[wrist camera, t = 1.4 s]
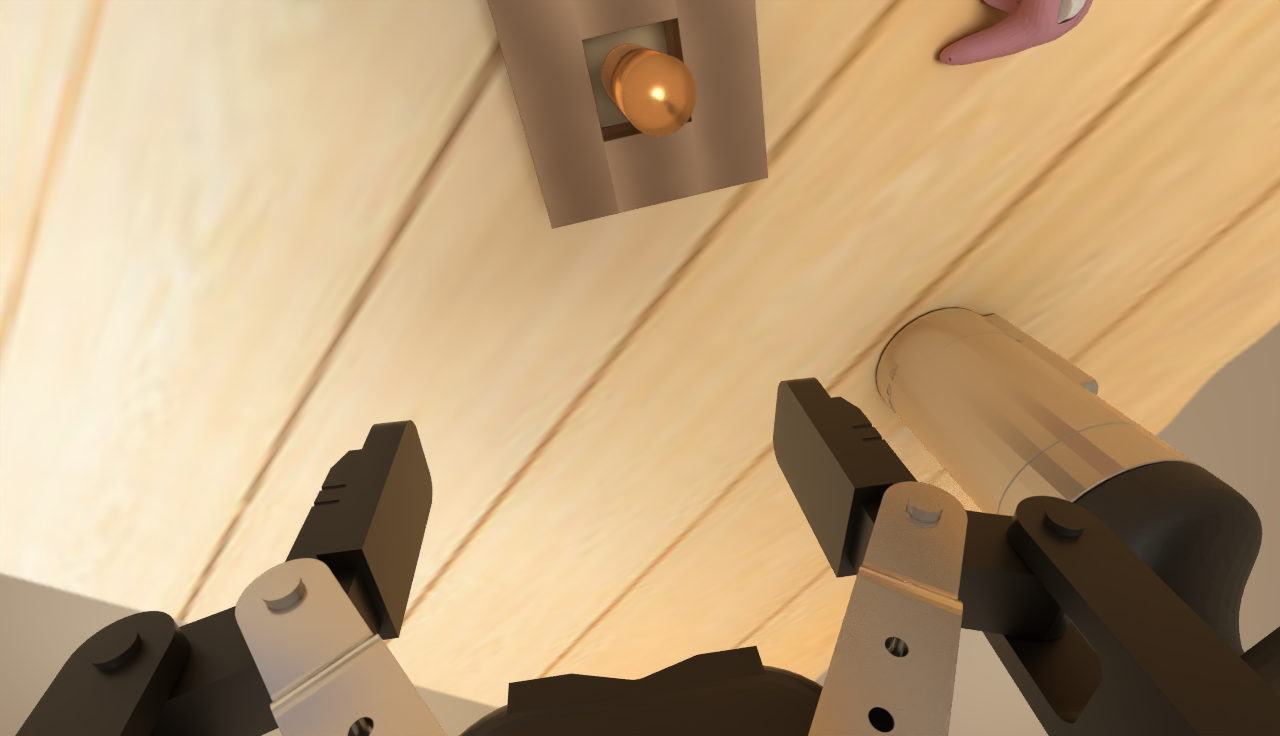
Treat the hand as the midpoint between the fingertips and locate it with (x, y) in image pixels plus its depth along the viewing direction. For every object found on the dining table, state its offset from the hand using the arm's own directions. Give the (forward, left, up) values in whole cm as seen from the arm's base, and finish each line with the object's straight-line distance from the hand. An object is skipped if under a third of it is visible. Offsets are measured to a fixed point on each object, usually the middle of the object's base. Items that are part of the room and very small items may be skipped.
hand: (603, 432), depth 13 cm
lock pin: (-5, -4, -25) cm, 26 cm away
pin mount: (-5, -4, -25) cm, 26 cm away
